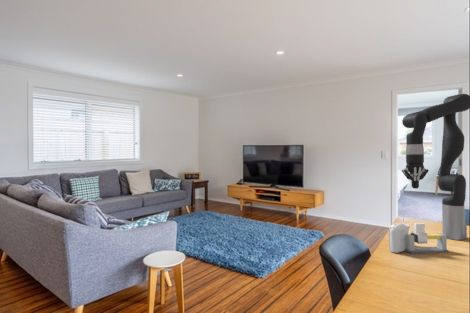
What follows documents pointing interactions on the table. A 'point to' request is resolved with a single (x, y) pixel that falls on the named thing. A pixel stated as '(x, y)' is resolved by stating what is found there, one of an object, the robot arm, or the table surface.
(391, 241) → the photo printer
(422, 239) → the white stepped block
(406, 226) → the smoothie
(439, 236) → the slider rail
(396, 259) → the table surface
